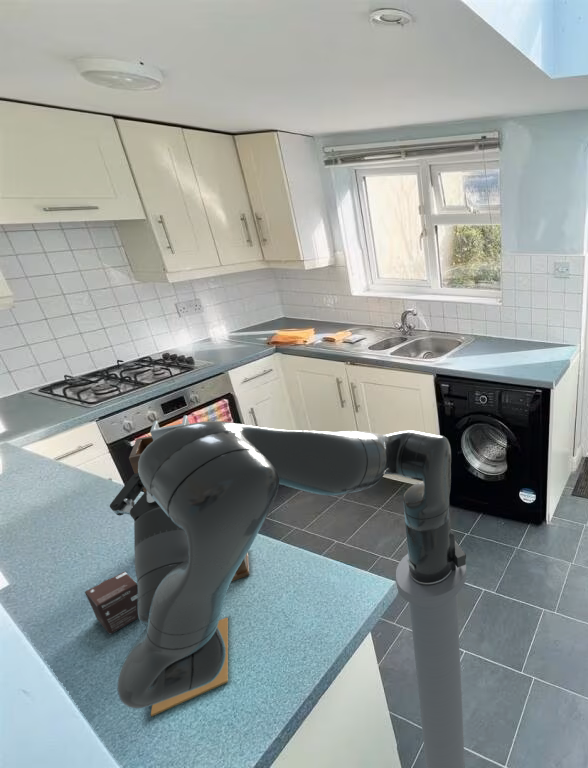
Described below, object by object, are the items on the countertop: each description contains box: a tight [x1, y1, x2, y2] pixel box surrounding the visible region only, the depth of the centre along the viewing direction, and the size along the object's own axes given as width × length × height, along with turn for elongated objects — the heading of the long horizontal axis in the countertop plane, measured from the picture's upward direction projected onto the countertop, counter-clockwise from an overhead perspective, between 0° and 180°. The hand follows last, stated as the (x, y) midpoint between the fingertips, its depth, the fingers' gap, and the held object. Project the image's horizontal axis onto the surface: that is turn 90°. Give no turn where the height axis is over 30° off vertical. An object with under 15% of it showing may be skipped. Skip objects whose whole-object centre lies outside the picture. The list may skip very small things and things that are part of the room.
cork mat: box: [150, 617, 229, 717], centre depth 73 cm, size 10×14×1 cm
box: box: [84, 571, 139, 635], centre depth 80 cm, size 6×6×7 cm
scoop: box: [149, 414, 191, 441], centre depth 73 cm, size 5×18×3 cm, turn 32°
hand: (163, 449), depth 71 cm, fingers closed on scoop, 1 cm apart
